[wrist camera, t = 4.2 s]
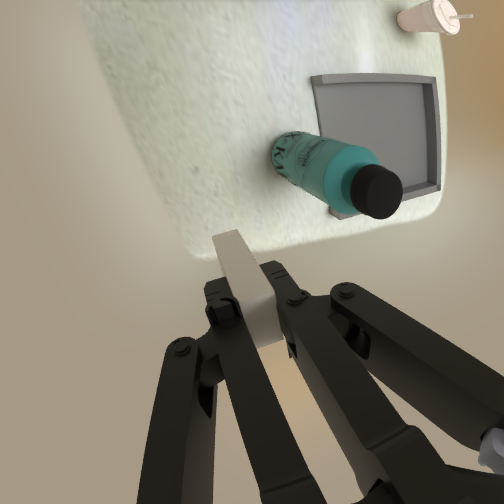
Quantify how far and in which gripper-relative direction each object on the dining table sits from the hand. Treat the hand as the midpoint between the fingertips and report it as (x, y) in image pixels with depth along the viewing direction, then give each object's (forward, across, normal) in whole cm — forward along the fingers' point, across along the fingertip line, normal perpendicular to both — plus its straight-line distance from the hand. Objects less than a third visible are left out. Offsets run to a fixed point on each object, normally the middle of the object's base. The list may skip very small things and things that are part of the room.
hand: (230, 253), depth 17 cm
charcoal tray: (+21, +28, 0) cm, 35 cm away
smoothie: (+21, +37, +20) cm, 47 cm away
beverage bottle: (+21, +12, 0) cm, 24 cm away
